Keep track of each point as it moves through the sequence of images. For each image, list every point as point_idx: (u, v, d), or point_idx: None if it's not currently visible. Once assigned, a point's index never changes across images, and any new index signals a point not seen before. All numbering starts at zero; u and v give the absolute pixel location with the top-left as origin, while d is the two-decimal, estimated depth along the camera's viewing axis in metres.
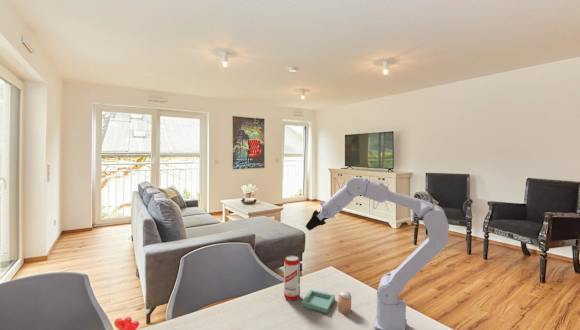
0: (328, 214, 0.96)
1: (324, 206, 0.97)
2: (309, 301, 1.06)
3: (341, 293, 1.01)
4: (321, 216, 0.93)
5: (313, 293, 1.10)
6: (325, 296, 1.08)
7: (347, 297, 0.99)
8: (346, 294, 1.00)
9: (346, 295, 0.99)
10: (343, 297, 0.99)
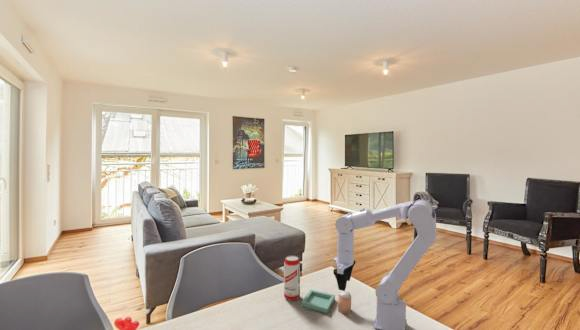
0: (346, 264, 0.97)
1: (338, 260, 0.98)
2: (309, 301, 1.06)
3: (341, 293, 1.01)
4: (340, 270, 0.93)
5: (313, 293, 1.10)
6: (325, 296, 1.08)
7: (347, 297, 0.99)
8: (346, 294, 1.00)
9: (346, 295, 0.99)
10: (343, 297, 0.99)
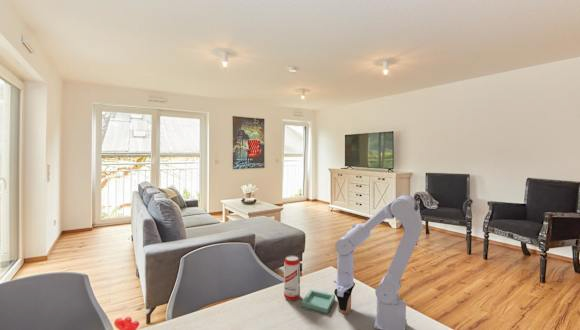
0: (346, 286, 0.97)
1: (338, 281, 0.99)
2: (309, 301, 1.06)
3: None
4: (340, 293, 0.94)
5: (313, 293, 1.10)
6: (325, 296, 1.08)
7: None
8: None
9: None
10: None
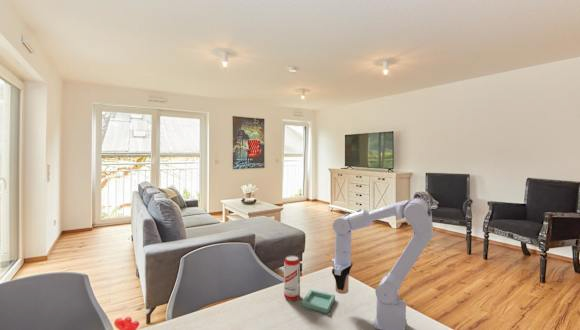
0: (343, 265, 0.97)
1: (336, 261, 0.99)
2: (309, 301, 1.06)
3: None
4: (337, 271, 0.94)
5: (313, 293, 1.10)
6: (325, 296, 1.08)
7: None
8: None
9: None
10: None
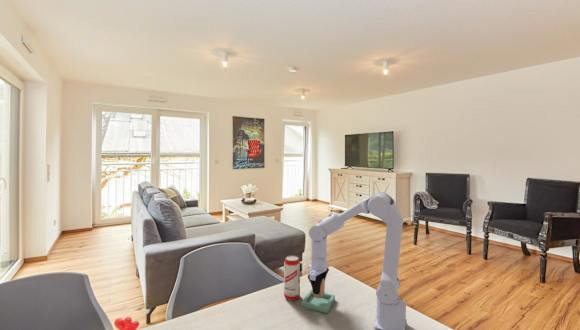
0: (319, 270, 1.01)
1: (312, 266, 1.03)
2: (309, 301, 1.06)
3: None
4: (312, 276, 0.97)
5: None
6: (325, 296, 1.08)
7: None
8: None
9: None
10: None
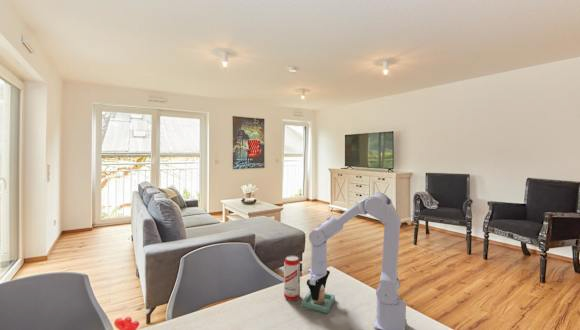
0: (319, 274, 1.01)
1: (312, 271, 1.03)
2: (309, 301, 1.06)
3: None
4: (312, 281, 0.98)
5: None
6: (325, 296, 1.08)
7: (320, 289, 1.03)
8: None
9: None
10: None
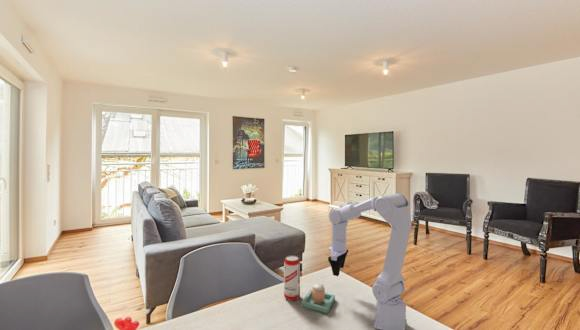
0: (339, 252, 1.08)
1: (332, 248, 1.10)
2: (309, 301, 1.06)
3: (315, 285, 1.05)
4: (334, 257, 1.04)
5: None
6: (325, 296, 1.08)
7: (320, 289, 1.03)
8: (320, 286, 1.04)
9: (319, 287, 1.03)
10: (316, 289, 1.03)
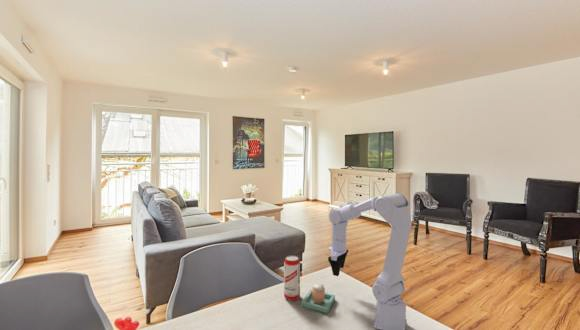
0: (339, 252, 1.08)
1: (332, 248, 1.10)
2: (309, 301, 1.06)
3: (315, 285, 1.05)
4: (334, 257, 1.04)
5: None
6: (325, 296, 1.08)
7: (320, 289, 1.03)
8: (320, 286, 1.04)
9: (319, 287, 1.03)
10: (316, 289, 1.03)
